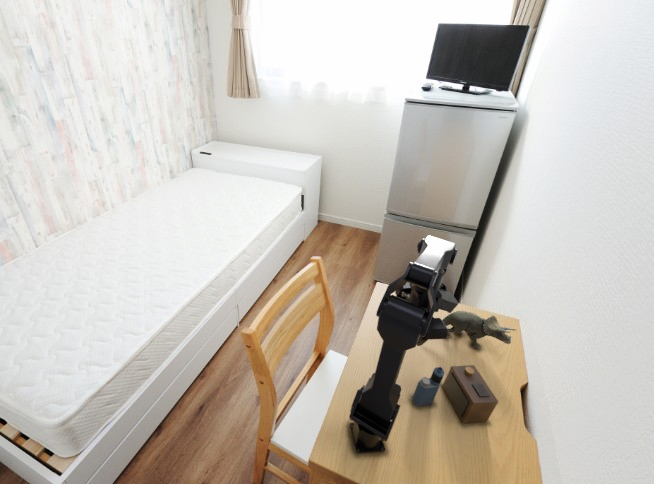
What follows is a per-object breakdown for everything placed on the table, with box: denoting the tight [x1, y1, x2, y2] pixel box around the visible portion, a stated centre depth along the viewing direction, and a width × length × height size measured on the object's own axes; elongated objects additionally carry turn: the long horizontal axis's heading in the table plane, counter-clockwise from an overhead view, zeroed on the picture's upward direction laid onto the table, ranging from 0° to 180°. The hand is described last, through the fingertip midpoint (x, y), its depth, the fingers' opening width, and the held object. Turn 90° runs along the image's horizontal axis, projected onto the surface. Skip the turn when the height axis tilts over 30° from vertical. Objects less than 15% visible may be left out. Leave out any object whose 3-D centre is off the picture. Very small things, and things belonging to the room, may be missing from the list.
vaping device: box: [412, 366, 445, 407], centre depth 83 cm, size 3×5×12 cm, turn 99°
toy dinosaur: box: [441, 310, 517, 350], centre depth 103 cm, size 22×8×11 cm, turn 62°
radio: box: [442, 364, 499, 424], centre depth 84 cm, size 6×10×9 cm, turn 4°
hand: (411, 331), depth 90 cm, fingers open, 9 cm apart
